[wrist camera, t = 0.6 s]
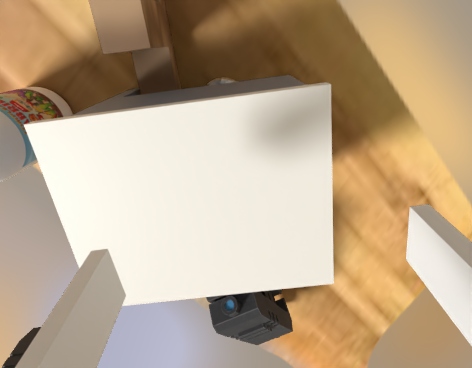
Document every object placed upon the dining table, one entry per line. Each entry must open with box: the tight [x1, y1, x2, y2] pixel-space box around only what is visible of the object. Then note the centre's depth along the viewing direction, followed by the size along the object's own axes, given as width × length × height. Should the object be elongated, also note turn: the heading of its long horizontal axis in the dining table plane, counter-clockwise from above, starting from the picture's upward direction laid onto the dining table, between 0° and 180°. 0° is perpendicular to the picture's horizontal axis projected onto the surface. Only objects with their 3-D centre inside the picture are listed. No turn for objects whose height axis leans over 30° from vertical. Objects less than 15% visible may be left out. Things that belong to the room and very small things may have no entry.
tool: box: [206, 289, 293, 345], centre depth 44 cm, size 6×19×15 cm, turn 28°
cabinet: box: [24, 75, 334, 306], centre depth 32 cm, size 15×19×20 cm
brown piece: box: [89, 0, 181, 95], centre depth 33 cm, size 22×4×11 cm, turn 7°
